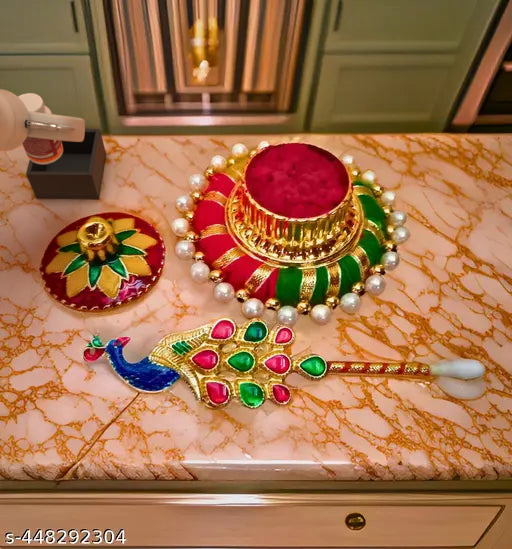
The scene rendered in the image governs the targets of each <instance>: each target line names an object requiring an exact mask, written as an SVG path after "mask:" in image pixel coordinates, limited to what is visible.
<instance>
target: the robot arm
mask: <svg viewBox="0 0 512 549" xmlns="http://www.w3.org/2000/svg"><path fill="white" fill-rule="evenodd" d="M85 129H86V121H85V119H83V118H81V117H76V116H70V115H61V114H54V113H52V114H47V113H39V112H31V111H28V110H27V108H26V106H25V105H24V103H23V102H22V100H21V99H20V98H19V97H18V95H16V94H15V93H14V92H11V91H9V90H7V89H4V88H3V89H2V88H0V152H10V151H13V150H15V149H18V148H19V147H20V146H21V145H23V144H22V143H23V142H24V141H25V139H26V138H27V137H35V138H43V139H51V140H59V141H72V142H82V141H83V140H84V135H85Z"/></svg>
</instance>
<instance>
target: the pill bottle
mask: <svg viewBox="0 0 512 549" xmlns="http://www.w3.org/2000/svg"><path fill="white" fill-rule="evenodd" d="M17 97H19V98H20V99H21V100H22V102H23V103H24V105H25V106H26V108H27V110H28V111H31V112H39V113H47V114H53V112H52V110H51V109H50V108H49V107H48V106H46V105H45V103H44V100H43V98H42V97H41V95H39V94H37V93H32V92H27V93H23V94H20V95H17ZM21 145H22V146H23V148H24V151H25V154H26V156H27V158H28V159H29V160H31V161H32V162H34V163H37V164H49V163H52V162H54V161H56V160H58V159H59V158H60V157H61V155H62V153H63V146H62V142H61V141H59V140H51V139H43V138H35V137H27V138H26V139H25V141H24V142H23V143H22V144H21Z"/></svg>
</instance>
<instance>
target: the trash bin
mask: <svg viewBox="0 0 512 549" xmlns="http://www.w3.org/2000/svg"><path fill="white" fill-rule="evenodd" d="M61 142H62V146H63V153H62V155H61V157H60V158H59V159H58V160H56V161H54V162H52V163H49V164H37V163H34V162H32V161H31V160H30V159H29V160H28V164H27V169H26V172H25V176H26V178H27V181H28V182H29V185H30V187H31V190H32V192H33V194H34V197H35V198H36V199H38V200H39V199H40V200H41V199H42V200H100V195H101V189H102V184H103V178H104V177H103V176H104V172H105V171H104V170H105V164H106V159H107V152H106V148H105V147H106V146H105V143H104V140H103V135H102V132H101V129H100V128H85V135H84V140H83V141H82V142H72V141H61Z"/></svg>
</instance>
